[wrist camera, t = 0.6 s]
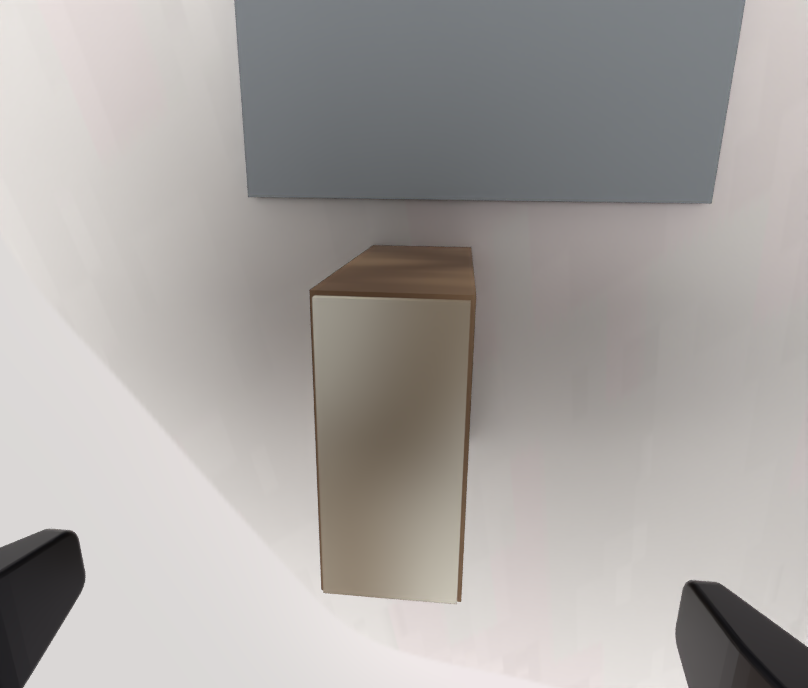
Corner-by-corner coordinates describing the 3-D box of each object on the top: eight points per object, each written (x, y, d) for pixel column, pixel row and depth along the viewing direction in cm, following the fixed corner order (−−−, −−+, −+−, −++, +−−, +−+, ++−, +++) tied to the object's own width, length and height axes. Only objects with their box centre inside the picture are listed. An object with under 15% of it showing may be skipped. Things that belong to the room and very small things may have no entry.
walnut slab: (470, 247, 18) (476, 297, 10) (462, 442, 20) (461, 608, 12) (373, 244, 18) (306, 291, 10) (374, 438, 20) (319, 596, 12)
